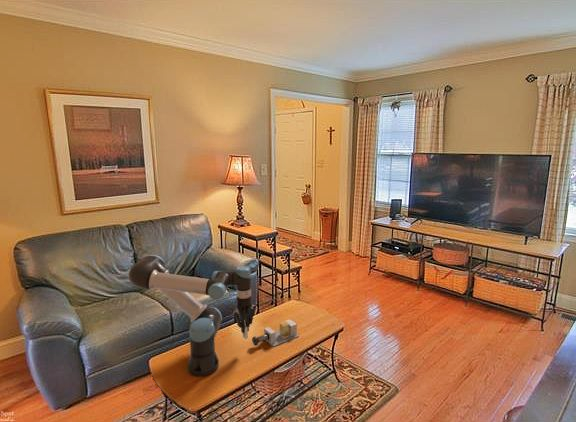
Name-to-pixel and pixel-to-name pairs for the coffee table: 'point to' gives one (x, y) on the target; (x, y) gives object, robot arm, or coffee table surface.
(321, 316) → the coffee table surface
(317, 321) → the coffee table surface
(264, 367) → the coffee table surface
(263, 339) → the shaft
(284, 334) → the spacer
